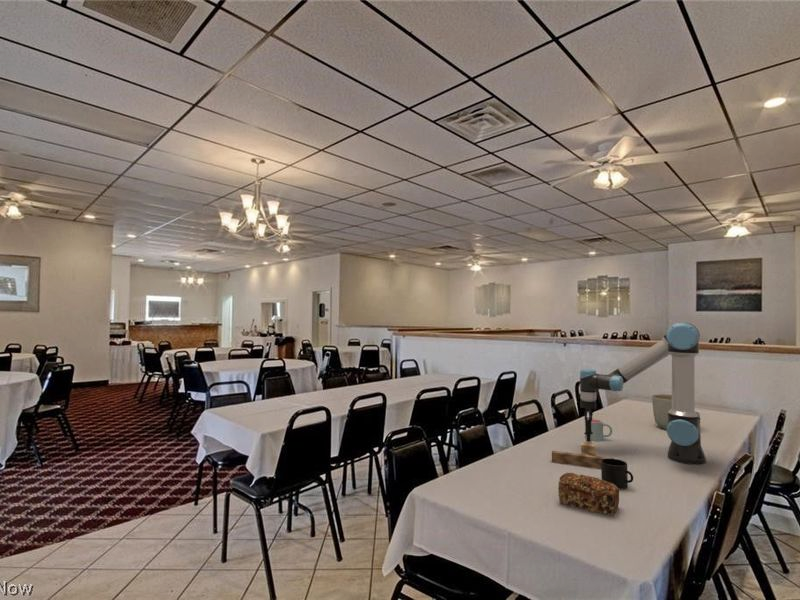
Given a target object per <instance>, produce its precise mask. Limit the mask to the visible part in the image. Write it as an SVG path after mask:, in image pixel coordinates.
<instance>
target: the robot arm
mask: <svg viewBox="0 0 800 600" xmlns="http://www.w3.org/2000/svg"><path fill="white" fill-rule="evenodd" d="M700 337H701V336H700V331H699V329H698V328H697V327H696V326H695V325H693V324H692V323H689V322H677V323H674V324H673V325H671V326H670V327H669V328H668V329H667V332H666V333H665V334H664V335H663V336H662V339H661V340H659V341H658V342H656V343H655V344H653V345H652V346H650V347H649V348H648V349H646V350H645V351H642V352H641V353H639V354H638V355H636V356H635V357H633V358H631V359H630V360H629V361H627V362H625V363H624V364H623V365H621V366H620V367H618V368H616V369H615V370H613V371H612V372H610V373H609V374H599V373H597V371H596V369H592V368H582V369H580V372H579V373H580V374H579V385H580V387H579V388H580V389H579V391H580V392H579V393H578V394H579V395H580V396H579V397H580V401H579V404H580V408H582V409H585V410H584V411H583V415H584V423H585V422H586V432H585V431H584V433H583V434H584V435H585V434H586V439H585V442H588V443H593V441H592V434H593V432H591V431H592V430H591V421H592V419H593V416H594V415H593V414H594V411H592V410H596V409H597V390H601V391H603V390H604V391H612V392H622V391H623V388H624V384H625V383H627V382H629V381H631V380H632V379H633V378H635V377H637V376H638V375H640V374H641V373H643V372H644V371H646V370H648V369H649V368H651V367H653V366H654V365H656V364H657V363H659V362H661V361H662V360H664V359H666V358H667V357H669V356H670V355H671V395H672V409H670V410H669V411H668V425H667V428H666V429H665V431H666V434H667V436H668V438H669V439H670V440H671V441H670V443H669V447H668V450H667V458H668V459H669V460H671V461H674V462H677V463H682V464H687V465H696V466H697V465H704V464H707V458H706V455H705V453H704V449H703V447H702V444H701V443H702V442H701V439H702V438H701V436H702V435H701V415H700V413H699V412H698V411H695V406H696V405H695V397H696V396H695V391H696V390H695V381H696V380H695V357H697V356H698V355H699V351H700V350H699V344H700V343H699V340H700Z"/></svg>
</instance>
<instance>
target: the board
mask: <svg viewBox="0 0 800 600" xmlns="http://www.w3.org/2000/svg"><path fill="white" fill-rule="evenodd" d="M607 458H608V457H606V456H599V455H595V456H592V455H587V454H586V455H584V454H581V453H574V452H566V451H558V450H552V451H551V463H554V464H555V463H556V464H562V465H569V466H570V465H571V466H575V467H576V466H577V467H584V468H590V469H591V468H592V469H599V470H601V460H602V459H607ZM610 458H611V459H615V458H614V457H610Z"/></svg>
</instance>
